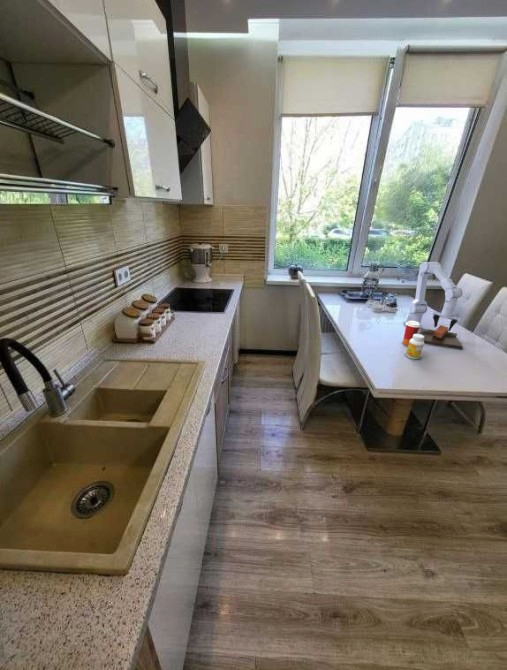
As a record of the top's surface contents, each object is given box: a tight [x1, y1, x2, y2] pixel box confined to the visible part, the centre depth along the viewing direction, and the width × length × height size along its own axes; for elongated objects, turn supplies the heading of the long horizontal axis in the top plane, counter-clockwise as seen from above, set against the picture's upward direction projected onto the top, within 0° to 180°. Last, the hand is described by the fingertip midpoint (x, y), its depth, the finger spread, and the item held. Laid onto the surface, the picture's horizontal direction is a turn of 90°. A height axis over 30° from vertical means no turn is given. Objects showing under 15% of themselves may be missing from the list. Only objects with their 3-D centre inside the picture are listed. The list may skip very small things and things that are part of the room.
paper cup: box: [402, 321, 422, 347], centre depth 164 cm, size 8×8×14 cm
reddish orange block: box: [433, 325, 449, 340], centre depth 171 cm, size 11×4×4 cm, turn 130°
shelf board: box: [419, 327, 464, 350], centre depth 171 cm, size 20×16×4 cm
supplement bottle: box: [405, 333, 425, 360], centre depth 150 cm, size 7×7×13 cm
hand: (442, 328), depth 170 cm, fingers open, 7 cm apart
